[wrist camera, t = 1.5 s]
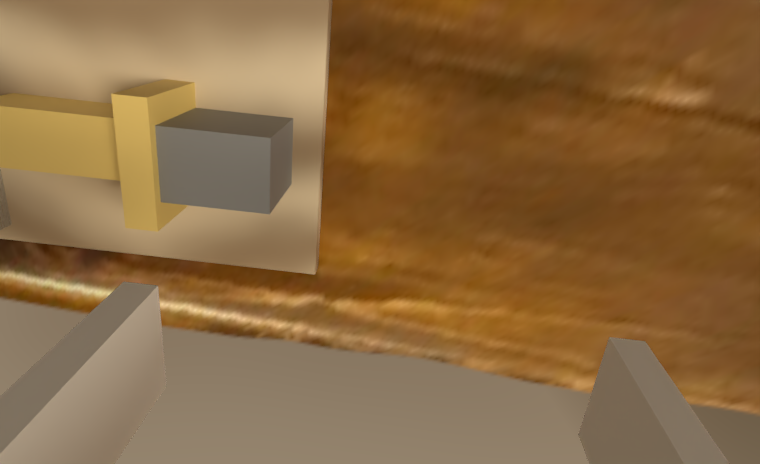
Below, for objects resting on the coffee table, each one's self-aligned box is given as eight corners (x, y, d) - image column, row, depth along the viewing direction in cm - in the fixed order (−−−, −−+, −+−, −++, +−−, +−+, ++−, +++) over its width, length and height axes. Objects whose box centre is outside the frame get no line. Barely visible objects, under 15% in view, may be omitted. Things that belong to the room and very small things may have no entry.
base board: (-198, -69, 25) (-222, -71, 24) (333, -15, 25) (329, -15, 24) (-113, 217, 31) (-129, 223, 30) (318, 266, 31) (315, 274, 30)
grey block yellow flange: (7, 62, 26) (-80, 73, 22) (294, 93, 26) (267, 110, 21) (28, 176, 29) (-47, 208, 24) (291, 206, 28) (266, 243, 24)
